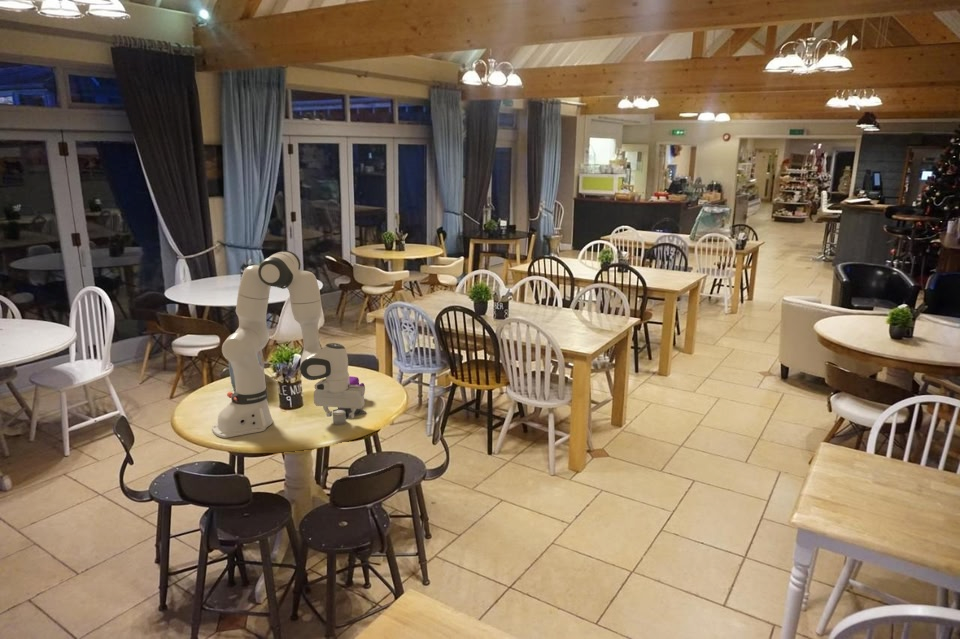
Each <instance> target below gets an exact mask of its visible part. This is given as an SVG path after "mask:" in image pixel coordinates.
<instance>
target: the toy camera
mask: <svg viewBox="0 0 960 639" xmlns="http://www.w3.org/2000/svg"><path fill="white" fill-rule="evenodd" d="M349 383H350V385H359V386H360V387H362V388H363V391H364V394H363V395H364V396H365V393H366V386H365V383H363V382H361V383H360V379H359V377H358V376H352V375H351V376H350V375H349Z"/></svg>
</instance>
